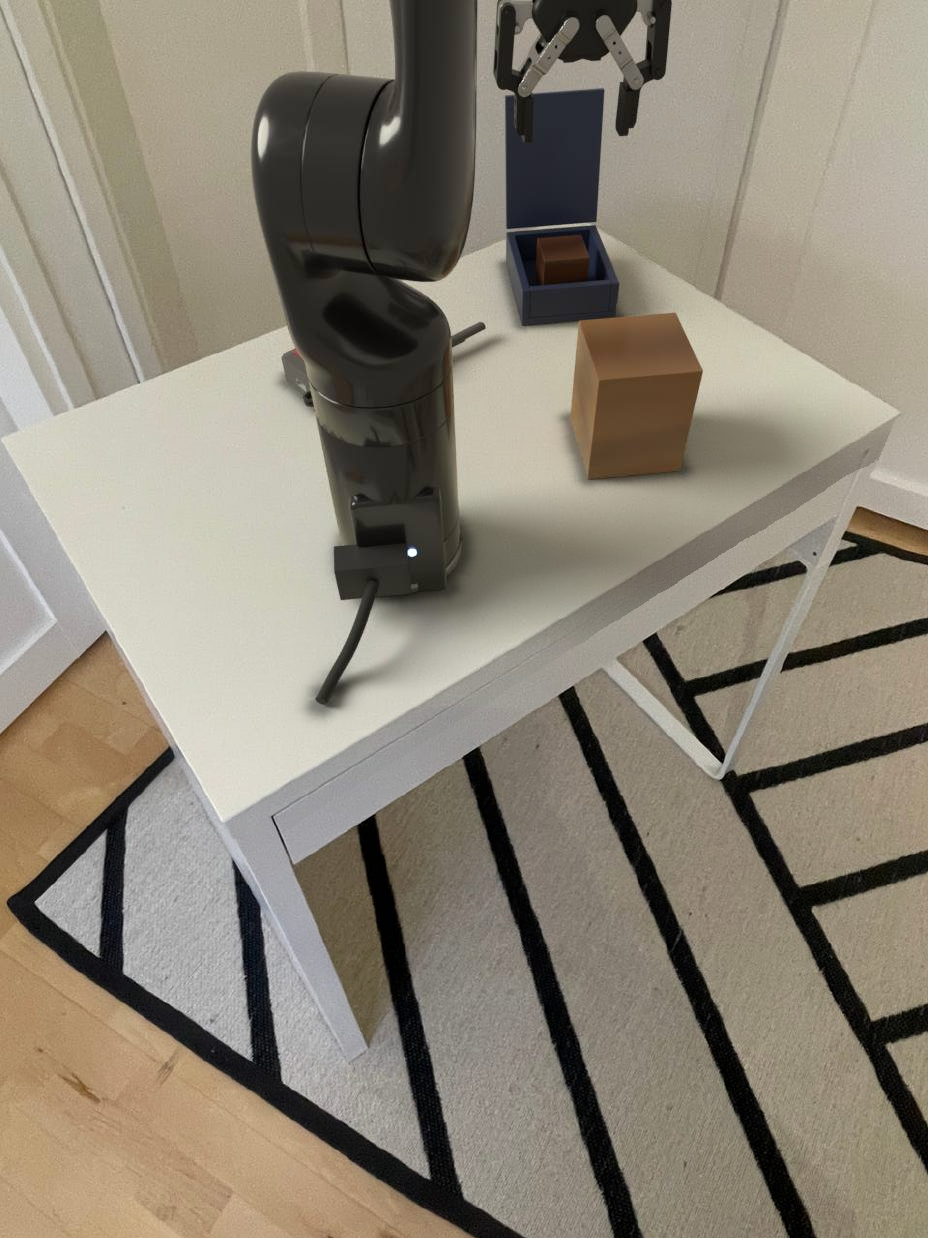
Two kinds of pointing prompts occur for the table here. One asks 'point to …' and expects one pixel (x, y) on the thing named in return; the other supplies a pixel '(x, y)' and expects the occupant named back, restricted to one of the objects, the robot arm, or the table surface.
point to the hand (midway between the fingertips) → (574, 135)
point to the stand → (633, 394)
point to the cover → (555, 160)
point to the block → (561, 260)
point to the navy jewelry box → (560, 298)
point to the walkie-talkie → (298, 373)
